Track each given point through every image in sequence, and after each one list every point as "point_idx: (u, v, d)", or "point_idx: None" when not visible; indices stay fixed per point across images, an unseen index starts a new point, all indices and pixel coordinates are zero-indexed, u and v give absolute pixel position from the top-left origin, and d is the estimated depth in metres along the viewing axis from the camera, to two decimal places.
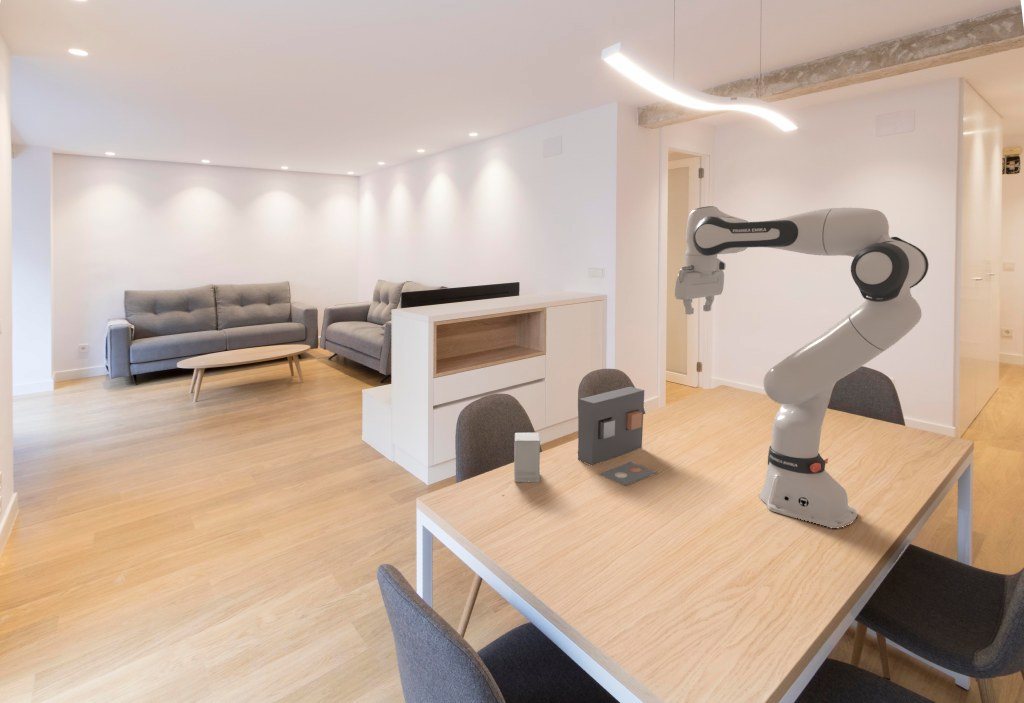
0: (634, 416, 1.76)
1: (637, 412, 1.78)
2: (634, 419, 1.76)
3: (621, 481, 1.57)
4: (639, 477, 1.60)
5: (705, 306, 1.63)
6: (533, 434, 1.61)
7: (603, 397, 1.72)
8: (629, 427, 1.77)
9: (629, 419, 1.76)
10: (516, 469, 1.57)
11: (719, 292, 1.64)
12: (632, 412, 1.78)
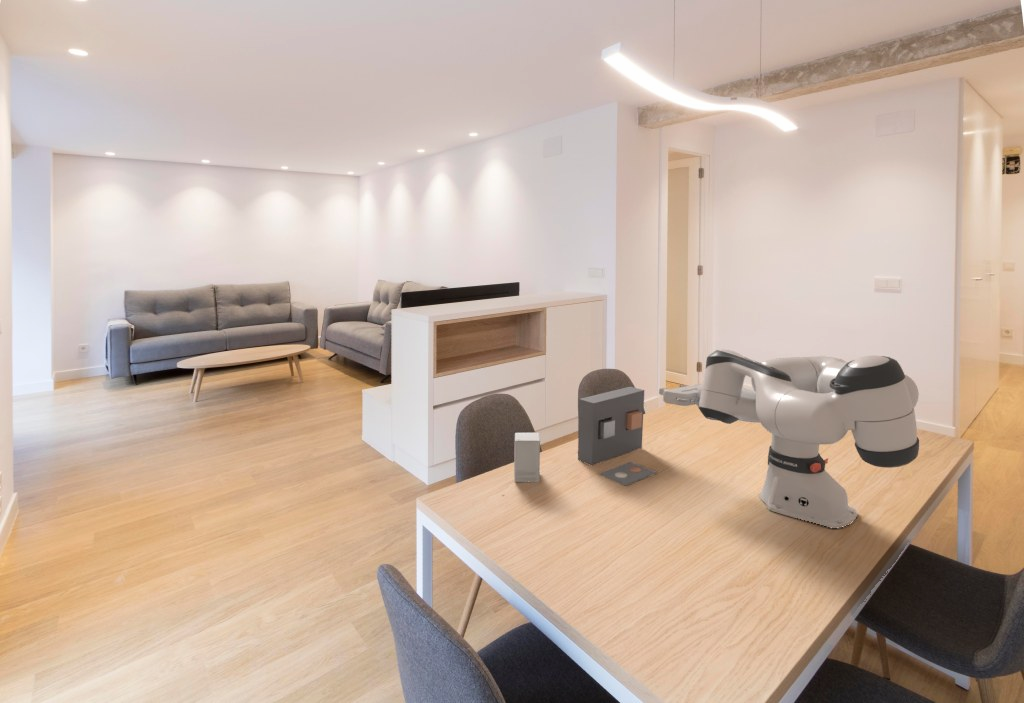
0: (634, 416, 1.76)
1: (637, 412, 1.78)
2: (634, 419, 1.76)
3: (621, 481, 1.57)
4: (639, 477, 1.60)
5: None
6: (533, 434, 1.61)
7: (603, 397, 1.72)
8: (629, 427, 1.77)
9: (629, 419, 1.76)
10: (516, 469, 1.57)
11: None
12: (632, 412, 1.78)
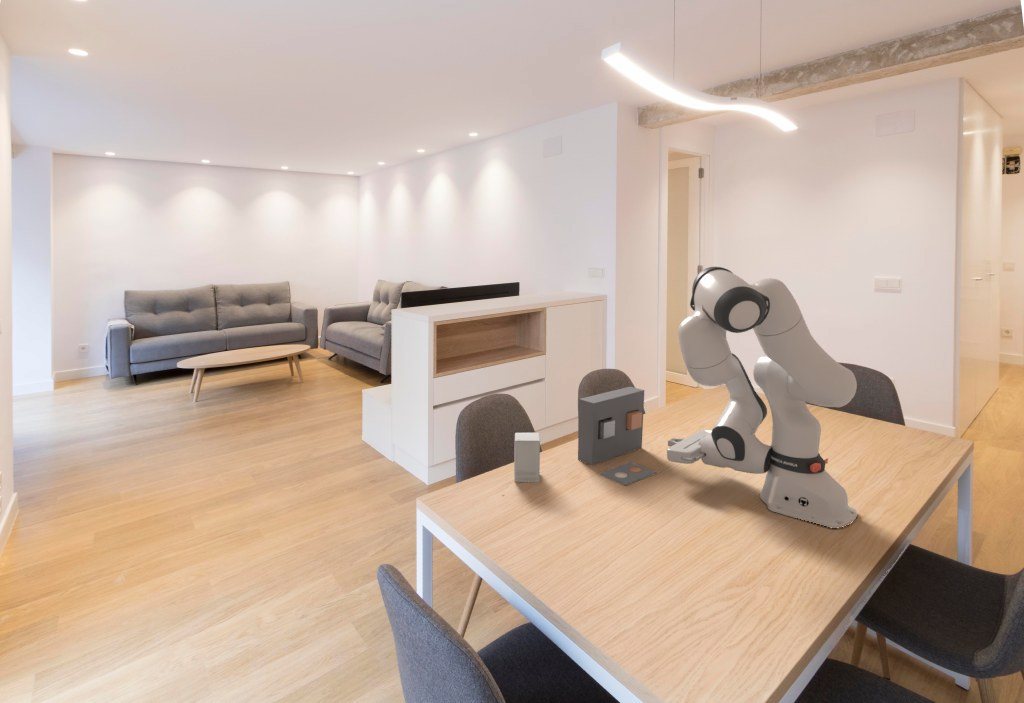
0: (634, 416, 1.76)
1: (637, 412, 1.78)
2: (634, 419, 1.76)
3: (621, 481, 1.57)
4: (639, 477, 1.60)
5: None
6: (533, 434, 1.61)
7: (603, 397, 1.72)
8: (629, 427, 1.77)
9: (629, 419, 1.76)
10: (516, 469, 1.57)
11: None
12: (632, 412, 1.78)
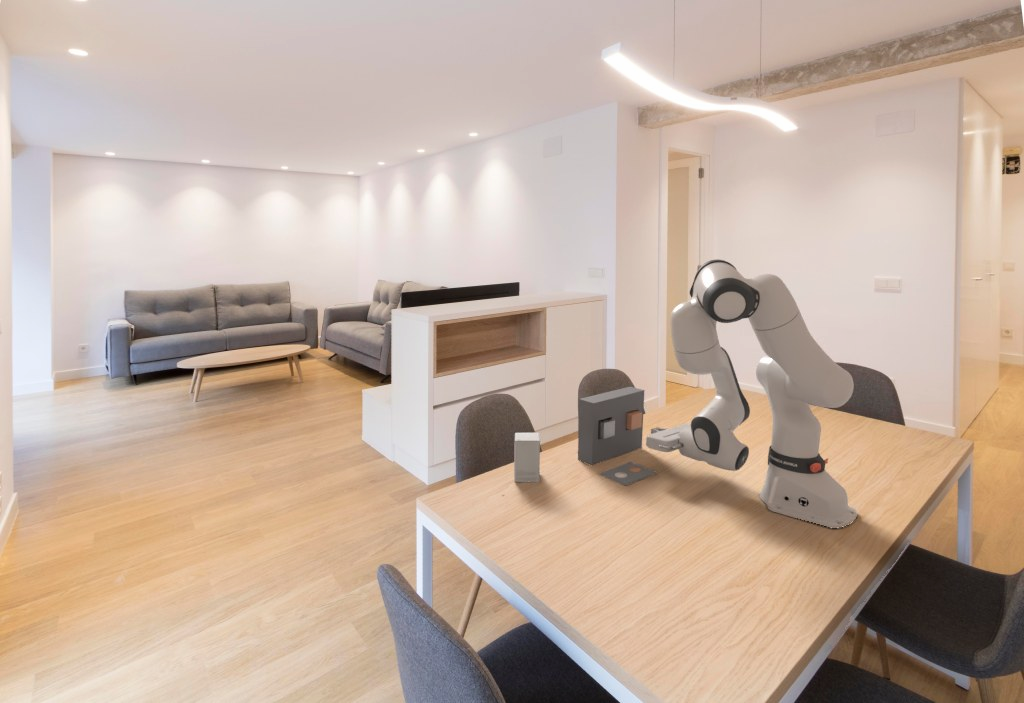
0: (634, 416, 1.76)
1: (637, 412, 1.78)
2: (634, 419, 1.76)
3: (621, 481, 1.57)
4: (639, 477, 1.60)
5: (657, 430, 1.69)
6: (533, 434, 1.61)
7: (603, 397, 1.72)
8: (629, 427, 1.77)
9: (629, 419, 1.76)
10: (516, 469, 1.57)
11: None
12: (632, 412, 1.78)
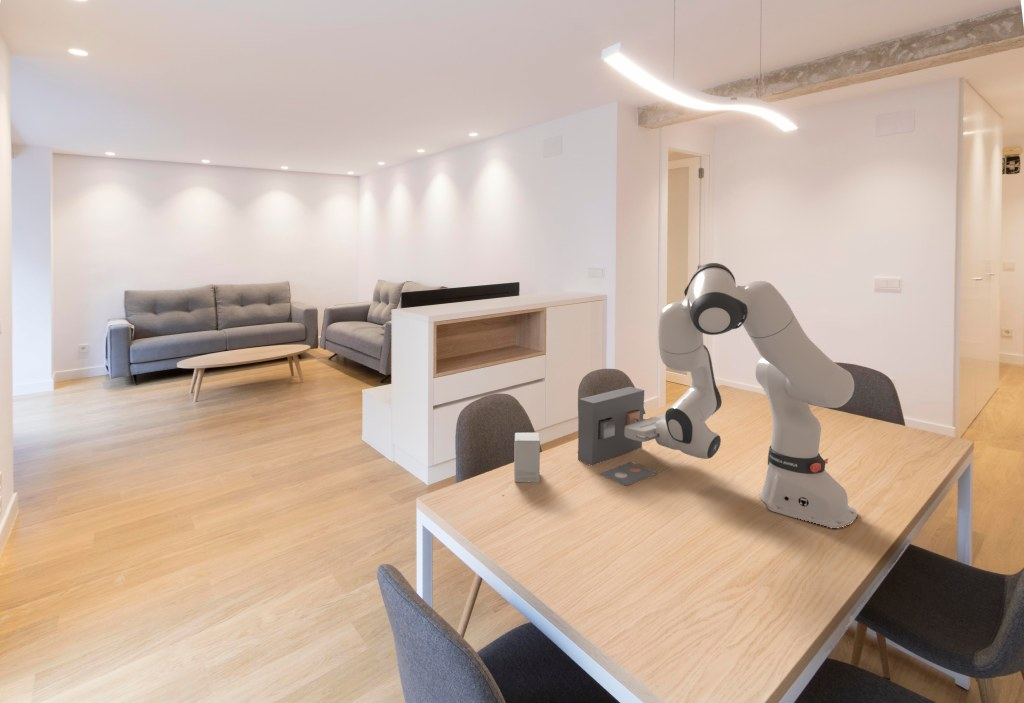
0: (632, 415, 1.77)
1: (635, 411, 1.78)
2: (632, 418, 1.77)
3: (621, 481, 1.57)
4: (639, 477, 1.60)
5: (635, 421, 1.76)
6: (533, 434, 1.61)
7: (603, 397, 1.72)
8: None
9: (626, 418, 1.77)
10: (516, 469, 1.57)
11: None
12: None
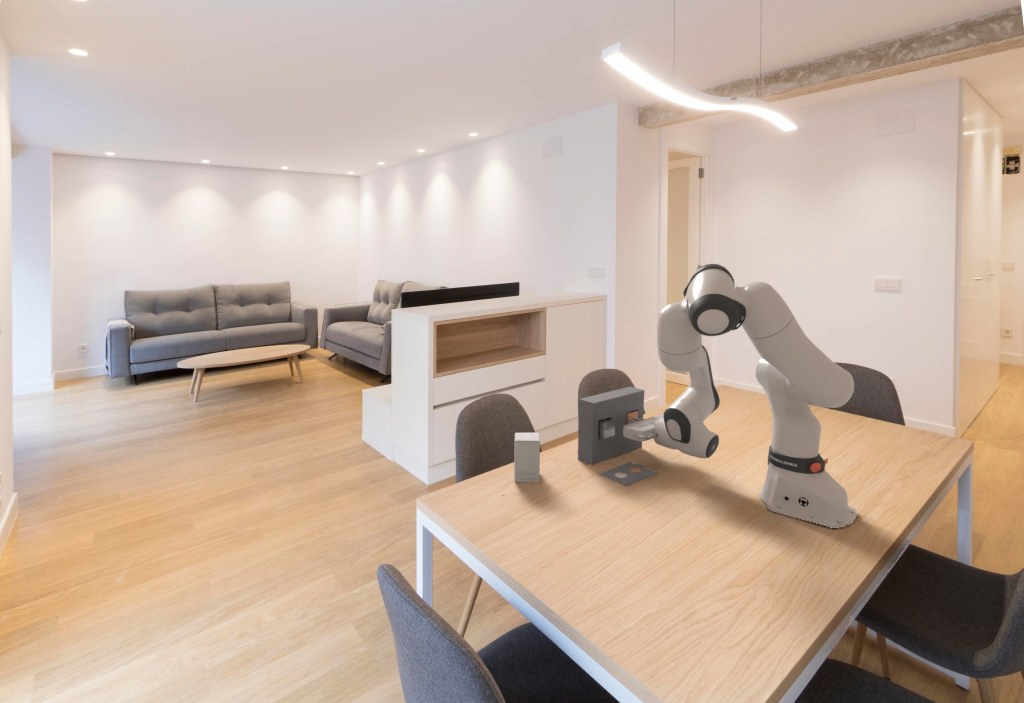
0: (630, 415, 1.77)
1: (633, 411, 1.79)
2: (631, 418, 1.77)
3: (621, 481, 1.57)
4: (639, 477, 1.60)
5: (634, 421, 1.76)
6: (533, 434, 1.61)
7: (603, 397, 1.72)
8: None
9: None
10: (516, 469, 1.57)
11: None
12: None
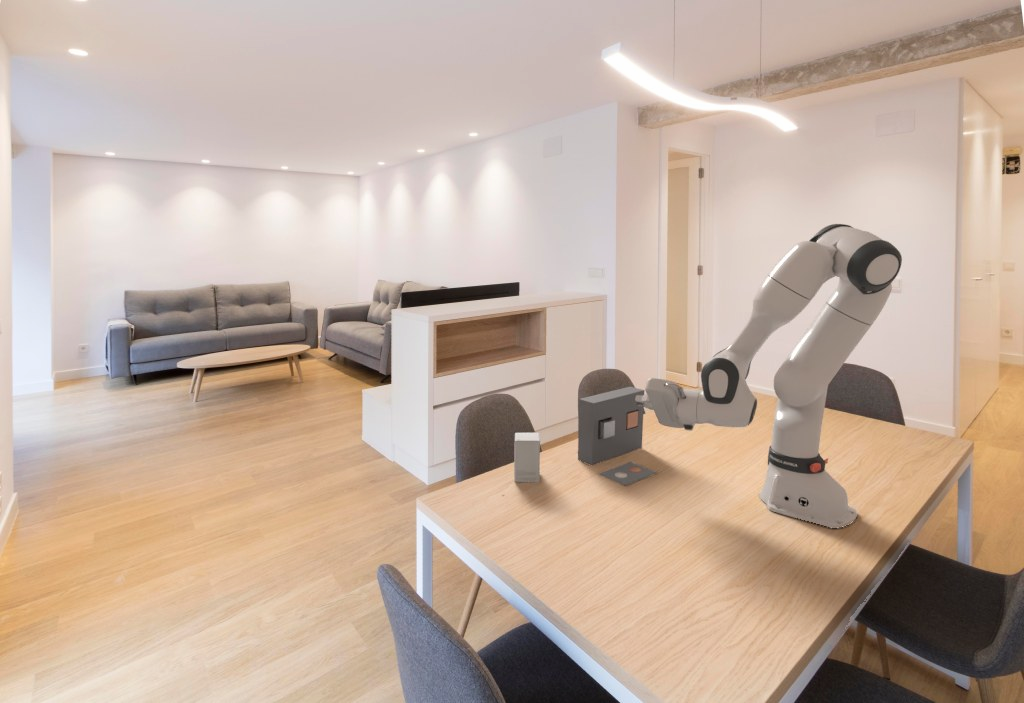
0: (630, 415, 1.77)
1: (633, 411, 1.79)
2: (631, 418, 1.77)
3: (621, 481, 1.57)
4: (639, 477, 1.60)
5: None
6: (533, 434, 1.61)
7: (603, 397, 1.72)
8: None
9: None
10: (516, 469, 1.57)
11: (660, 422, 1.52)
12: None
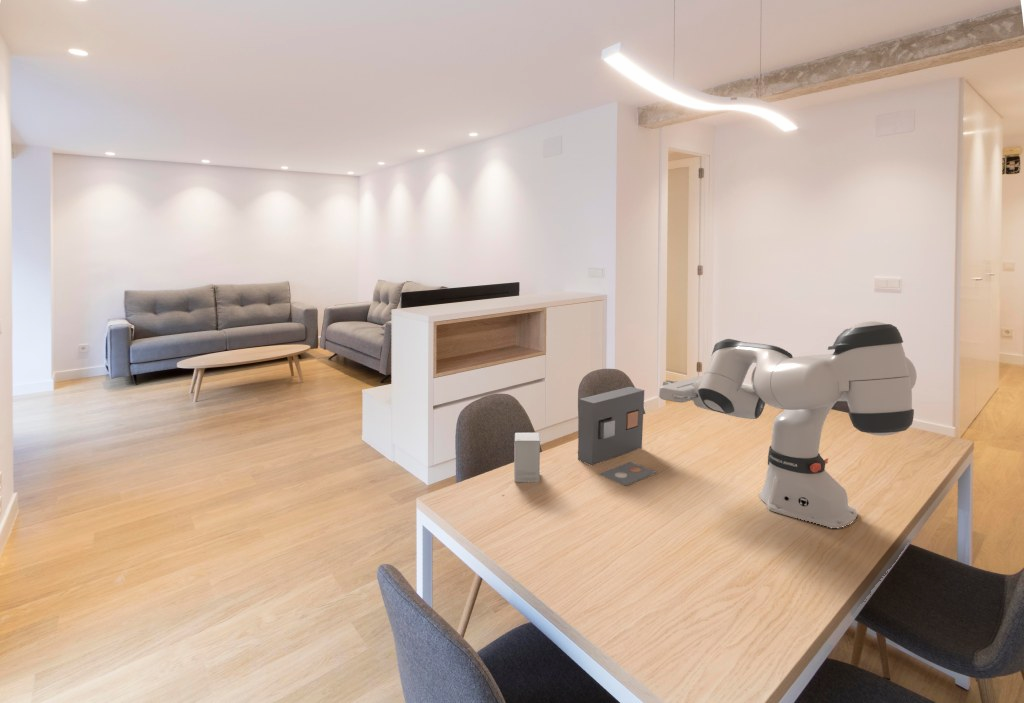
0: (630, 415, 1.77)
1: (633, 411, 1.79)
2: (631, 418, 1.77)
3: (621, 481, 1.57)
4: (639, 477, 1.60)
5: (669, 383, 1.63)
6: (533, 434, 1.61)
7: (603, 397, 1.72)
8: None
9: None
10: (516, 469, 1.57)
11: None
12: None
